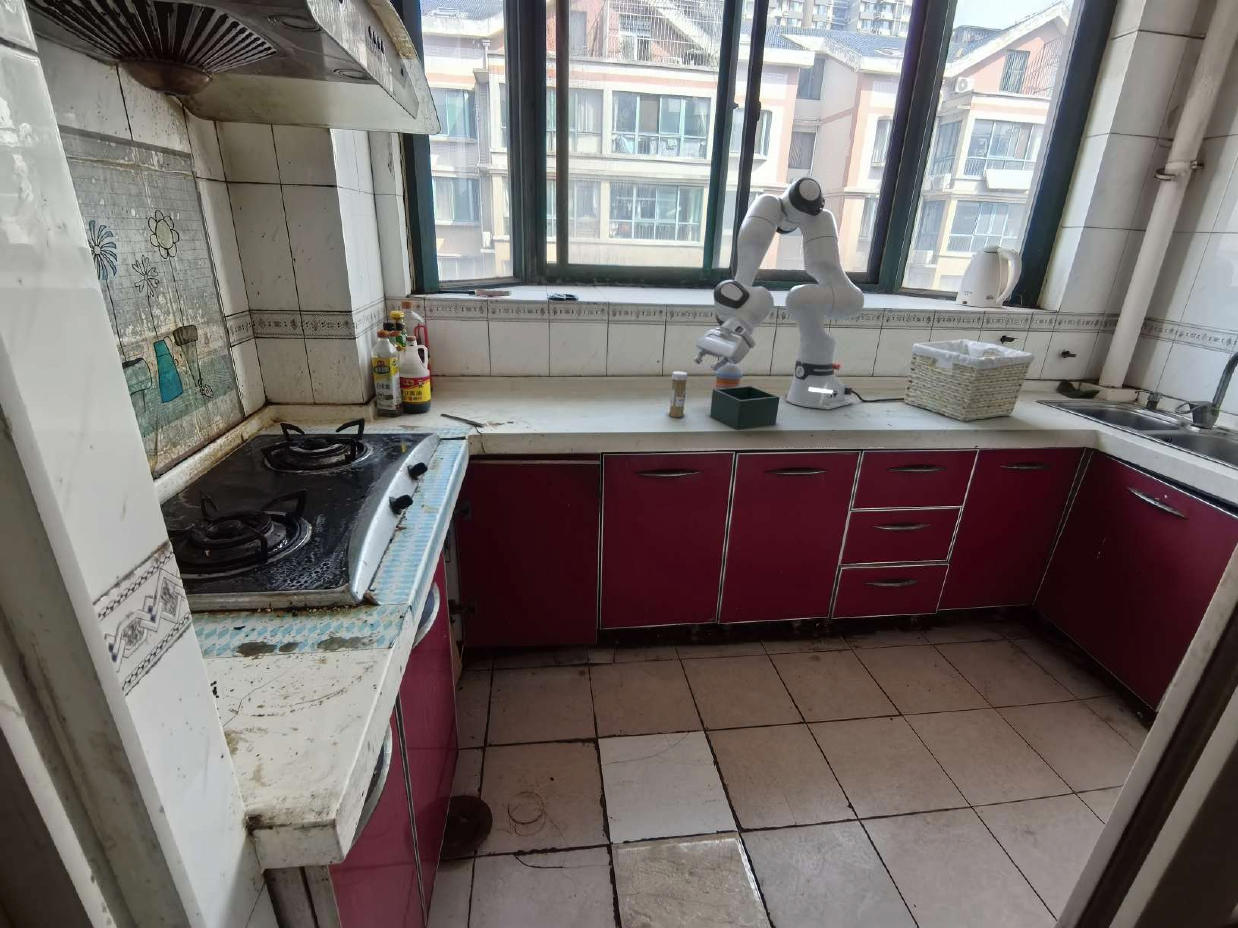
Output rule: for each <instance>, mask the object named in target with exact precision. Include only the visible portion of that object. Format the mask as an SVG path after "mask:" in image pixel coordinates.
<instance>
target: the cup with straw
mask: <svg viewBox="0 0 1238 928" xmlns="http://www.w3.org/2000/svg"><path fill="white" fill-rule="evenodd" d="M743 375H744V374H743V372H742V371H741V368H740V366H739V365H738V364H732V363H730V362H728V363H727V364H726V365H724V366H722V367H720V368H719V369H718V370H717V371H714V376H715V377H716V379H715V389H722V388H732V387H740V385H741V382H740V381H741V379H742V378H743Z"/></svg>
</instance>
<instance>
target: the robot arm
mask: <svg viewBox="0 0 1238 928" xmlns="http://www.w3.org/2000/svg"><path fill="white" fill-rule="evenodd" d="M825 204H826V200H825V198H824V193H823V190H822V187H821V185H820V183H819V182H818V181H817V180H816V179H815V178H813V177H811V176H803V177H800V178H798V179H796V180H795V181H794V182H792V183H791V184H790V186H789V187H788V188H787V189H786V190H785V191H784V192H783V193H782V194H781V196H780V197H777V196H776V195H773V194H769V193H764V194H761V195H759V196H757V197H756V198H755V200H754V201H753V202H752V203H751V206H750V207H749V208H748V210H747V212H746V214H745V216H744V218H743V221H742V223H741V225H740V228H739V231H738V234H737V235H738V236H737V241H736V242H737V243H736V246H737V247H736V248H737V266H736V269H737V270H736V274H735V276H734V279H726V280H722V281H721V282H719V283H718V284H717V285H716V286H715V288H714V290H713V302H714V303H713V304H714V309H715V320H716V323H717V324H718V325H719V326H720V327H715V328H713V329H708V330H707V331H706V332H705V333H704V334H703V335H702V336H701V337H700V338H699V339H698V340H696V342H695V347H696V349H697V350H698V351H697V354H696V356H695V358H694V359H693V362H694V363H695V364H696V365H700V364H701V363H702V362H703V360H702V359H703V357H705V356H707V355H709V356H711V357H713V358H717V359H719V360H717V361H716V362H713V363H712V364H711V365H710V368H711V370H712V371H714V372H715V371H717V370H718V369H719V368H720V367H722V366H724V365H726V364H727V363H728V362H730V363H732V364H736V365H738V364H739V363H740V362H741V361H743V360H744V358H745V357H746V356H747V355H748V354H749V352H750V350H751V349H753V348H755V346H756V345H757V344H756V342H755V339H754V338H753V337H752V335H753V333H754V331H755V330H756V328H758V327H759V326H761V325H762V324H763V323H764V321H765V320H766V319H767V318H768V317H769V315H770V314H771V312H772V311H773V309H774V306H775V301H774V297H773V296H772V294H771V292H770V290H768V288H766V287H765V286H761V285H759V286H753V285H754V282H755V279H756V278H757V277H756V276H757V274H758V271H759V269H760V267H761V265H762V263H763V261H764V259H765V257H766V255H767V252H768V250H769V249H770V247H771V244H772V242H773V241H774V237H775V236H776V233H777V234H781V235H788V234H791V233H792V232H794V231H796V230H797V229H799V230H800V232H801V235H802V253H803V267H804V270H805V272H806V274H807V275H808V276H810V277H811V278H813V279H814V280H815V281H816V282H817V283H816V284H815V283H806V284H805V283H804V284H801V285H800V284H799V285H795V286H793V287H792V288H791V289H789V291H788V292H787V294H786V298H785V300H784V301H785V302H784V305H785V309H786V312H787V314H788V315H789V317H791V318H792V319H793V320H794V322H795V323H796V325H797V328H798V332H799V348H798V356H797V359H796V360H795V364H794V374H793V377H792V381H791V384H790V389H789V392H788V393H787V396H786V401H787V402H788V403H790V404H793V405H795V406H796V405H797V406H800V407H805V408H814V409H815V408H816V409H821V410H831V409H835V408H840V407H844V406H848V405H851V404H852V400H851V399H850V398H848V397H846V396H851V395H852V394H854V395H856V396H857V398H858V399H859V401H860V402H862V403H863V402H864V403H877V402H891V401H904V397H895V398H892V397H891V398H878V399H877V398H876V399H864V398H863V397H861V395H860V394H859V393H858V392H856V391H855V390H853V388H852V387H850V386H848V385H846V384H844V383H843V382H842V381H841V380H840V379H839V377H837V375H835V371H840V369H841V368H842V366H841V364H840V363H833V359H834V353H835V348H836V339H835V337H834V336H833V335H832V334H831V332H828V331H827V330H825V327H824V326H825V325H824V320H825V321H827V320H828V321H836V320H837V321H844V320H850V319H853V318H856V317H858V316H859V315H860V314H861V312H862V310H863V309H864V306H865V296H864V293H863V291H862V290H861V288H859V287H858V286H856V285H855V284H854V283H853V282H852V281H851V280H850V278H849V277H848V275H847V274H846V271H845V270H844V268H843V264H842V260H841V253H840V242H839V233H838V232H839V231H838V226H837V223H836V219H835V216H834V214H833V212H831V211H830V210H828V209H824V207H825Z"/></svg>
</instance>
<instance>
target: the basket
mask: <svg viewBox="0 0 1238 928" xmlns="http://www.w3.org/2000/svg"><path fill="white" fill-rule="evenodd" d="M986 354H988V355H989V356H985V355H986ZM992 355H996V356H992ZM1034 360H1035V354H1034V353H1032V352H1029V351H1027V352H1025V351H1023V350H1017V349H1014V348H1009V347H1005V346H1001V345H998V344H995V343H989V342H982V341H981V342H980V341H975V340H968V339H967V338H964V339H962V338H961V339H958V340H953V339H952V340H941V341H939V340H938V341H928V342H915V343H914V344H913V345H912V349H911V358H910V364H909V369H908V376H907V382H906V385H905V391H904V397H903V398H904V400H903V401H904V403H906V404H907V405H911V406H915V407H919V408H921V409H926V410H929V411H932V412H933V413H939V414H942V415H944V416H946V417H949V418H952V419H956V420H958V421H960V422H967V421H974V420H977V419H979V420H985V419H987V418H996V417H1004V416H1011V415H1013V412H1014V411H1015V406H1016V404H1017V401H1018V399H1019V396H1020V393H1021V390H1022V388H1023V385H1024V382H1025V379H1026V377H1027V374H1028V372H1029V369H1030V366H1031V364H1032V363H1033V362H1034Z"/></svg>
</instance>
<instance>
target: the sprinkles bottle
mask: <svg viewBox="0 0 1238 928" xmlns="http://www.w3.org/2000/svg"><path fill="white" fill-rule="evenodd" d="M687 380H688V373H687V372H685V371H681V370H680V371H679V370H678V371H677V370H676V371H673V372H672V373H671V389H670V400H669V401H670V402H669V413H668V415H669V416H671V417H673V418H682V417H684V414H685V413H684V412H685V411H684V409H685V403H686V402H685V401H686V389H687V388H686V387H687Z"/></svg>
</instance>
